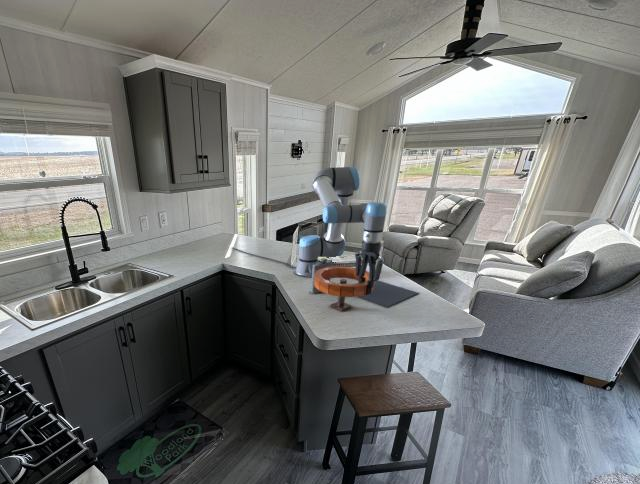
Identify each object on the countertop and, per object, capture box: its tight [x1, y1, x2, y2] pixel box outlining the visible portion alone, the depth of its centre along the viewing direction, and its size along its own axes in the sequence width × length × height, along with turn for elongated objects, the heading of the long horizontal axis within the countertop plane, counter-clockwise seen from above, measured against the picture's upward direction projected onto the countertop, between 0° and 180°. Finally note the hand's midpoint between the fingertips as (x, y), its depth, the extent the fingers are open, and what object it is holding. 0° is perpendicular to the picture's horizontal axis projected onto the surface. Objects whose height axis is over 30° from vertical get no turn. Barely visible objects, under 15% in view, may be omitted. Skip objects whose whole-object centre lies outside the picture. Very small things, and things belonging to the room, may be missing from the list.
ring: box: [314, 265, 375, 298], centre depth 154 cm, size 27×27×5 cm
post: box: [330, 278, 352, 312], centre depth 157 cm, size 7×7×14 cm
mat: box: [357, 280, 419, 308], centre depth 176 cm, size 28×28×1 cm
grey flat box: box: [310, 258, 333, 295], centre depth 177 cm, size 4×14×18 cm, turn 129°
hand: (364, 292), depth 146 cm, fingers closed on ring, 3 cm apart
